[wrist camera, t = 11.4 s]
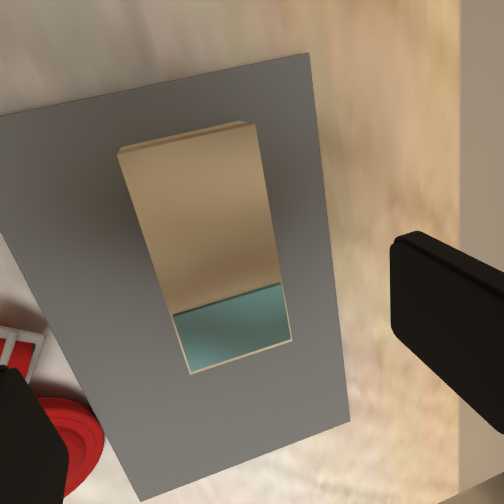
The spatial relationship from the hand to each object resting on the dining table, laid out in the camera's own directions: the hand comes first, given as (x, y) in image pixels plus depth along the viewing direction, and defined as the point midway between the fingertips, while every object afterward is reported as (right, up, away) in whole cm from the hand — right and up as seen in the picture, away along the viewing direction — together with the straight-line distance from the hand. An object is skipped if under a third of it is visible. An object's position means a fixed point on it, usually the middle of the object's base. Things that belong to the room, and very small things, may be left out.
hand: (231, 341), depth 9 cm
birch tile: (-2, +3, +8) cm, 9 cm away
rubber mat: (-2, -1, +10) cm, 10 cm away
